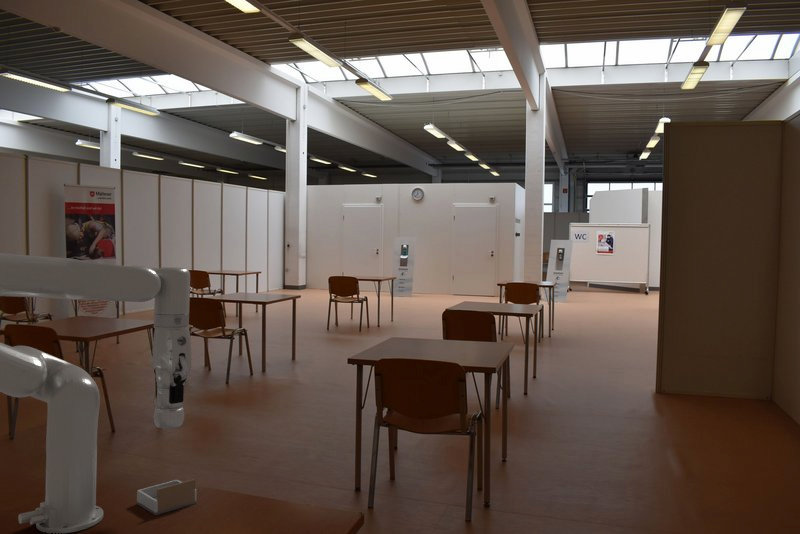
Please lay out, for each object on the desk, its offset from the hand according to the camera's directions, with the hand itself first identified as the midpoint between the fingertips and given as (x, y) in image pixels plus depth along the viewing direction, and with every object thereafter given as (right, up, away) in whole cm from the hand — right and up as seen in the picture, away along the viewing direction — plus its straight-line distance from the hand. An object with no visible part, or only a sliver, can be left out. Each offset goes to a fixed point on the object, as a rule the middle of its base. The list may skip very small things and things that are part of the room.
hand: (169, 399), depth 142 cm
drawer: (-1, -24, 0) cm, 24 cm away
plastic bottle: (0, -7, 0) cm, 7 cm away
